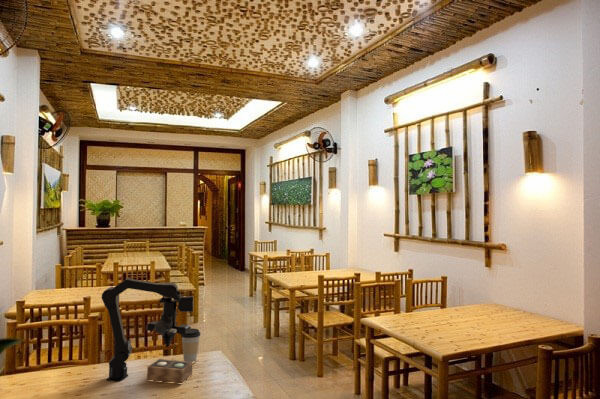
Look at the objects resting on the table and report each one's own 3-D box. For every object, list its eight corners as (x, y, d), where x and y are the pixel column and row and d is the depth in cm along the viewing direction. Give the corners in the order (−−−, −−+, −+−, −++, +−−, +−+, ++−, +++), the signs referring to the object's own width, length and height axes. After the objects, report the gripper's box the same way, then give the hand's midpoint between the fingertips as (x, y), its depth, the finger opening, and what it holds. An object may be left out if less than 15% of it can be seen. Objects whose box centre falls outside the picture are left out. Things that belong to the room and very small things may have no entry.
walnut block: (147, 381, 176) (147, 366, 176) (158, 372, 186) (159, 358, 186) (181, 384, 173) (182, 369, 173) (192, 375, 183) (192, 361, 183)
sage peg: (172, 379, 177) (172, 366, 177) (176, 375, 181) (176, 362, 181) (180, 380, 176) (181, 367, 177) (184, 376, 180) (185, 363, 181)
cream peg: (155, 377, 179) (155, 364, 179) (159, 374, 182) (160, 361, 183) (163, 378, 178) (163, 365, 178) (168, 374, 182) (168, 362, 182)
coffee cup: (203, 361, 201) (204, 330, 201) (189, 367, 193) (190, 334, 193) (190, 357, 206) (191, 326, 206) (175, 362, 198) (176, 331, 198)
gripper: (140, 314, 177) (138, 350, 177) (180, 318, 174) (178, 355, 173) (154, 308, 188) (152, 342, 188) (192, 312, 185) (190, 347, 184)
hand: (167, 346), depth 183 cm, fingers closed
